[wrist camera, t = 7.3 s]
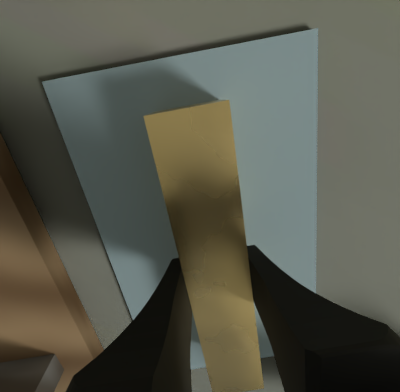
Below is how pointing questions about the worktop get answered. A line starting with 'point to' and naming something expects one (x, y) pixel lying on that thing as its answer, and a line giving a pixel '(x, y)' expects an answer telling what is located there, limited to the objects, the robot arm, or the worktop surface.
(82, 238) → the worktop surface
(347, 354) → the robot arm
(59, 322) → the hook stand
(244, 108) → the rubber mat
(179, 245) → the brass rail
